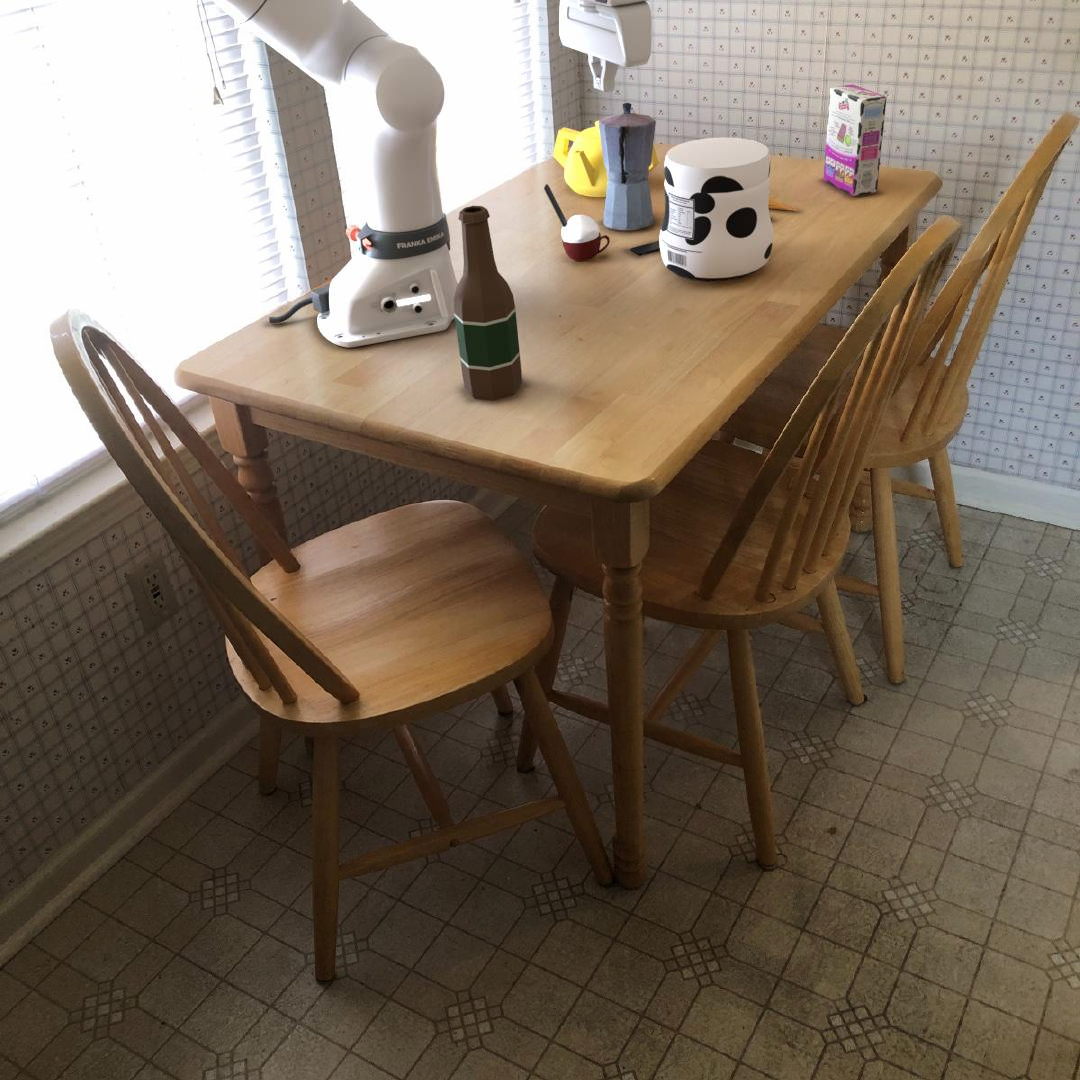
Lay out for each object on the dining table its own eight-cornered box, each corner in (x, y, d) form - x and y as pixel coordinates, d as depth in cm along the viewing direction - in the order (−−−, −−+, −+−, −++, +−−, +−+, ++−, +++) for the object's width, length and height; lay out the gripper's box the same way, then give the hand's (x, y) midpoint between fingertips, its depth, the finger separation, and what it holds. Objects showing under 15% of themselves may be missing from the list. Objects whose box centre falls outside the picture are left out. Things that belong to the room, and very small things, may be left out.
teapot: (662, 192, 206) (661, 126, 200) (574, 206, 204) (570, 139, 197) (634, 167, 220) (633, 104, 213) (552, 180, 217) (548, 116, 211)
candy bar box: (879, 193, 197) (888, 96, 188) (853, 198, 196) (862, 100, 187) (846, 175, 206) (853, 82, 197) (821, 180, 205) (828, 86, 196)
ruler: (639, 255, 182) (639, 253, 182) (630, 250, 184) (630, 247, 184) (771, 220, 190) (771, 218, 190) (761, 216, 193) (761, 213, 192)
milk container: (775, 248, 180) (780, 134, 170) (768, 292, 166) (773, 170, 156) (668, 247, 184) (666, 135, 174) (652, 289, 170) (649, 171, 160)
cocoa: (614, 254, 183) (611, 181, 176) (594, 268, 179) (590, 194, 172) (566, 246, 188) (561, 175, 181) (545, 259, 184) (539, 186, 177)
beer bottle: (522, 372, 151) (505, 195, 137) (523, 399, 145) (505, 217, 131) (465, 377, 151) (442, 201, 137) (463, 404, 145) (439, 223, 131)
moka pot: (658, 208, 200) (656, 91, 188) (656, 239, 187) (654, 116, 176) (604, 210, 201) (599, 94, 189) (599, 242, 188) (594, 119, 177)
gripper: (545, -25, 156) (551, 80, 164) (616, -7, 140) (619, 108, 148) (585, -31, 158) (589, 73, 166) (660, -14, 142) (660, 100, 150)
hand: (604, 89), depth 157 cm, fingers closed
